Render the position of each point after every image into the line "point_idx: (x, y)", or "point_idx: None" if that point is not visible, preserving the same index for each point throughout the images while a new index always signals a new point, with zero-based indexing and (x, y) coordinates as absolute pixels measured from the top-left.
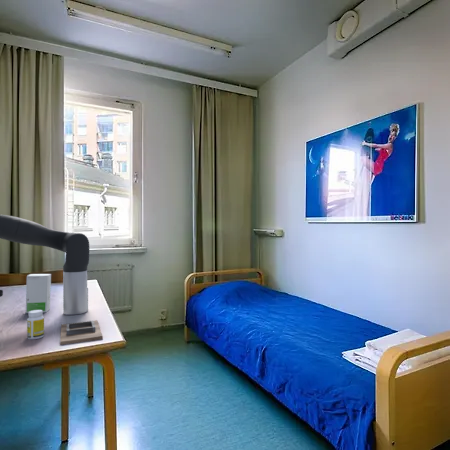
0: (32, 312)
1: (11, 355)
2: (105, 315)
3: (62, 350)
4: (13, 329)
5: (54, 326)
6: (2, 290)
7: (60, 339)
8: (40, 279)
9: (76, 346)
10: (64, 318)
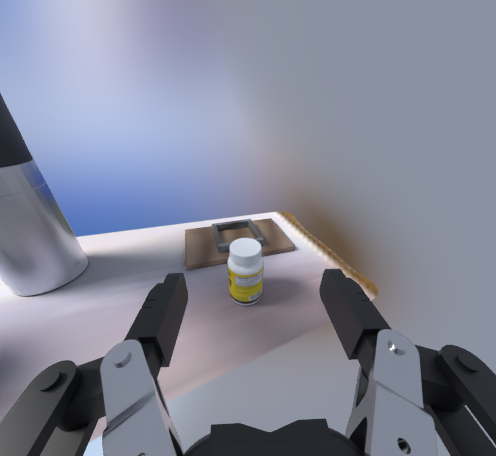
0: (258, 248)
1: None
2: (139, 231)
3: (315, 244)
4: None
5: None
6: (173, 273)
7: (284, 248)
8: None
9: (298, 236)
10: (103, 281)
